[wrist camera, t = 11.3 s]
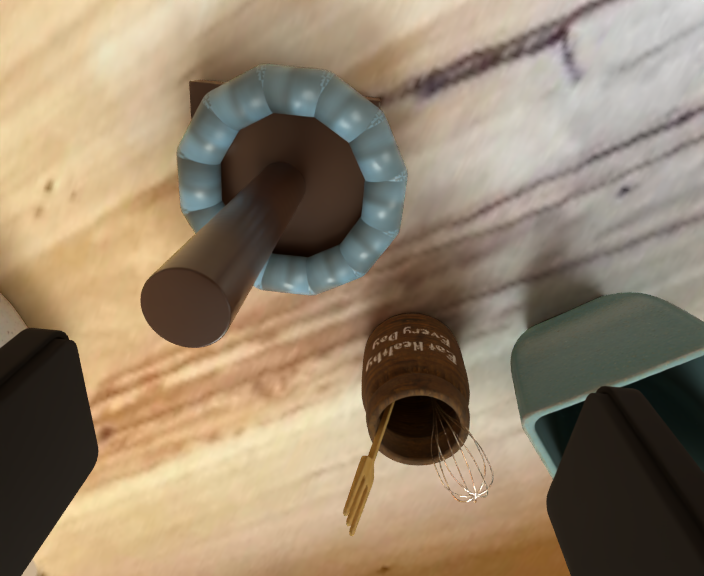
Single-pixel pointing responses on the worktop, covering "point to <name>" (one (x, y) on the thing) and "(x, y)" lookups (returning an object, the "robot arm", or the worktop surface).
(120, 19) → the worktop surface
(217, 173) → the ring
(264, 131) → the peg stand
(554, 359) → the flower pot
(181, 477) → the worktop surface
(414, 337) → the utensil holder
